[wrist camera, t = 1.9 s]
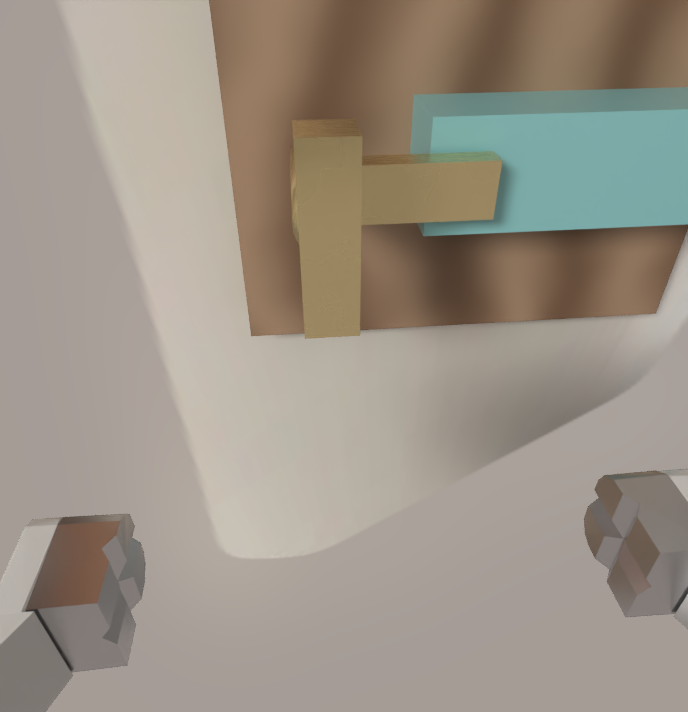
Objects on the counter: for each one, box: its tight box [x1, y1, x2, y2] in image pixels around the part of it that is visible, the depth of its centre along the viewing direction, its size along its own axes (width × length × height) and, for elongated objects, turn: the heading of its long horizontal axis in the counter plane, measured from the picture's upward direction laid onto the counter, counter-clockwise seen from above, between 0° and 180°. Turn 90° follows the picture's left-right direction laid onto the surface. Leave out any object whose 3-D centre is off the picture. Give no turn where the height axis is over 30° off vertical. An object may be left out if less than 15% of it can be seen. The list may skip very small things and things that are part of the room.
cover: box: [410, 87, 688, 236], centre depth 26 cm, size 13×5×4 cm, turn 90°
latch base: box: [209, 0, 688, 336], centre depth 28 cm, size 24×20×2 cm
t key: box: [290, 119, 503, 339], centre depth 22 cm, size 8×7×10 cm
